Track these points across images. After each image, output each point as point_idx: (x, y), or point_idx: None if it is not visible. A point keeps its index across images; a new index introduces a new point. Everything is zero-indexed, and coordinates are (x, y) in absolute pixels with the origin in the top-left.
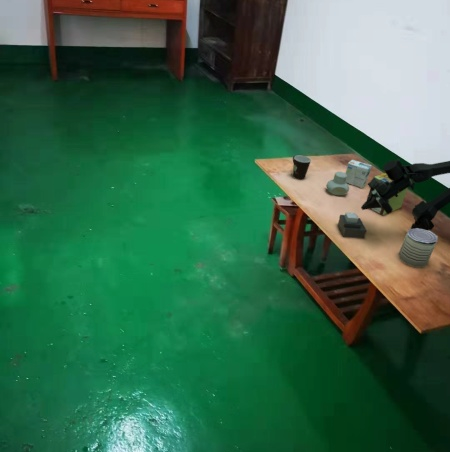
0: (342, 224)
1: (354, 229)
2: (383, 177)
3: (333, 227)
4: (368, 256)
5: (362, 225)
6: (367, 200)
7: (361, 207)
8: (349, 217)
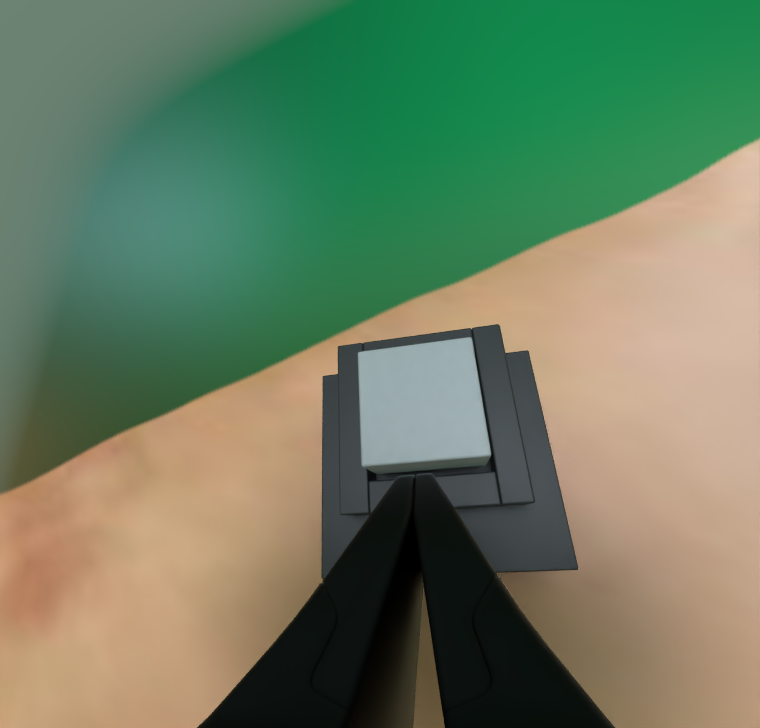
0: None
1: (324, 451)
2: None
3: None
4: (132, 538)
5: None
6: (479, 604)
7: (418, 476)
8: (363, 365)
